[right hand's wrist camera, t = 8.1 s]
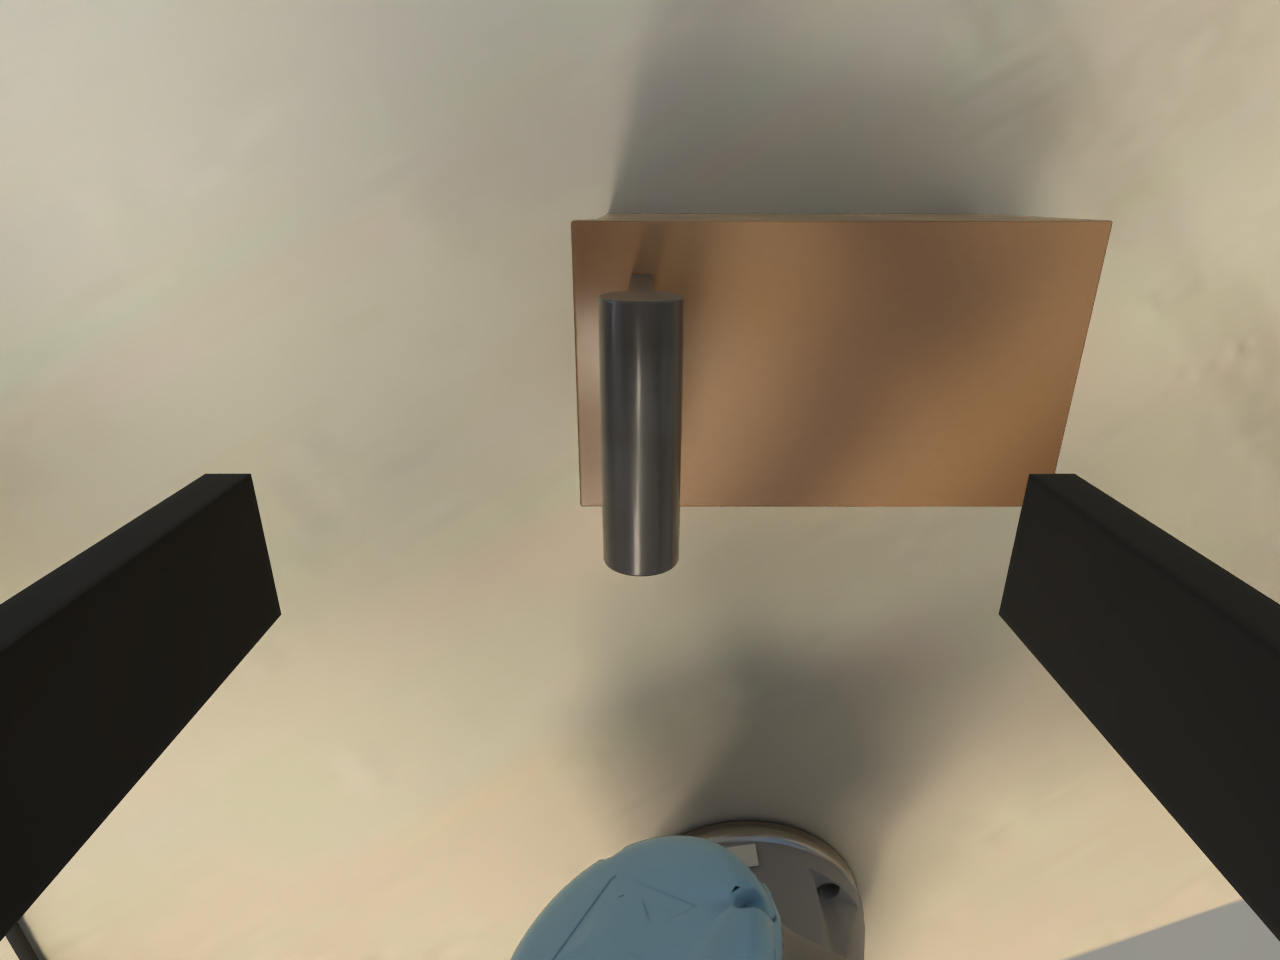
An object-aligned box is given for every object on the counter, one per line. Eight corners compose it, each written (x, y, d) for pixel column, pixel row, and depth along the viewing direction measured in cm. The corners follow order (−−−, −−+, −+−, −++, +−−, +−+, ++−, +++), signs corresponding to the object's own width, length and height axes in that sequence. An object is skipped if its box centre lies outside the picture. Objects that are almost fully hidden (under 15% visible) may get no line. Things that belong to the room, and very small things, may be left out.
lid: (582, 496, 27) (557, 625, 19) (573, 219, 23) (537, 231, 15) (1033, 496, 27) (1203, 626, 19) (1094, 219, 23) (1338, 231, 15)
